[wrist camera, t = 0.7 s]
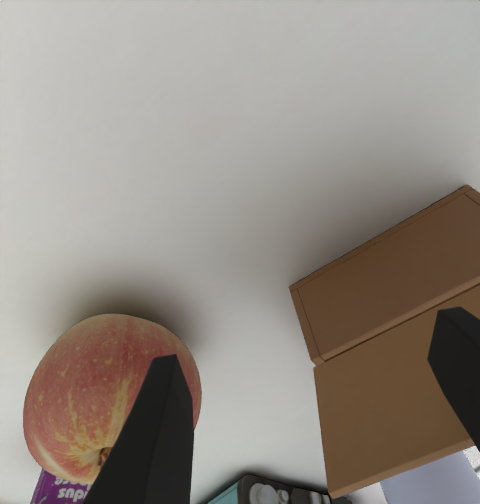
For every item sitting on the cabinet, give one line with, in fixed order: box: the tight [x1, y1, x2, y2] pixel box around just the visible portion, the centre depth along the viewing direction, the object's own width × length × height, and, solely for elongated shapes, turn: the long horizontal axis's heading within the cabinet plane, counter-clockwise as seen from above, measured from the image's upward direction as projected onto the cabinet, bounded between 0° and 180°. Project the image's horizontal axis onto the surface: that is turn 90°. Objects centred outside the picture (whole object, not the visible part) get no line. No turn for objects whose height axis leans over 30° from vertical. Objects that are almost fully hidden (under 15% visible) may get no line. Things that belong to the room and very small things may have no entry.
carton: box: [289, 185, 480, 470], centre depth 22 cm, size 13×11×6 cm
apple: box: [23, 314, 202, 484], centre depth 20 cm, size 9×9×8 cm
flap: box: [313, 285, 480, 499], centre depth 13 cm, size 6×11×1 cm
